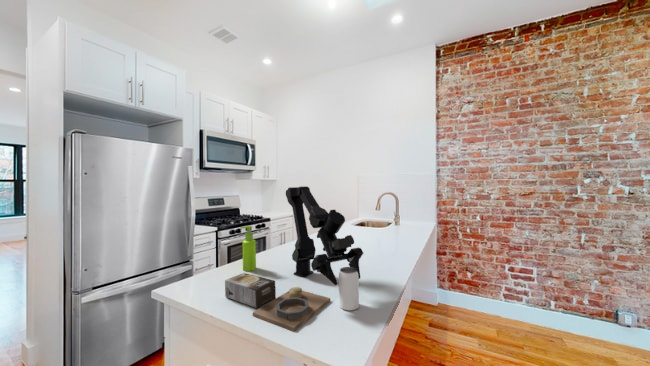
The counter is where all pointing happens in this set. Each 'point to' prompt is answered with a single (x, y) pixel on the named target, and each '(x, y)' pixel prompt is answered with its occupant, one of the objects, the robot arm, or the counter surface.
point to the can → (348, 288)
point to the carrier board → (292, 308)
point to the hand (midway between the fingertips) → (348, 281)
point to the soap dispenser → (249, 250)
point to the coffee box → (250, 289)
